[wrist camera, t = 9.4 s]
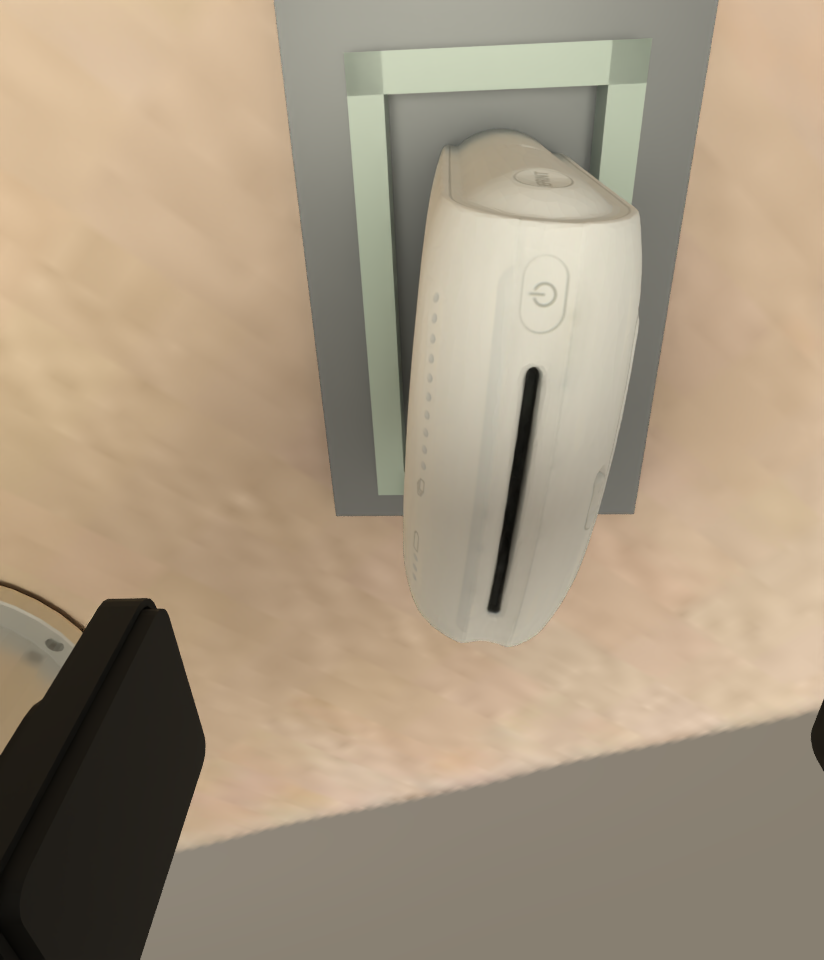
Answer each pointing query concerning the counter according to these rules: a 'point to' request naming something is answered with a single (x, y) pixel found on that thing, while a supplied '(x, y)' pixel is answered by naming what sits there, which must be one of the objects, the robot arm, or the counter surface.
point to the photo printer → (514, 382)
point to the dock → (449, 121)
